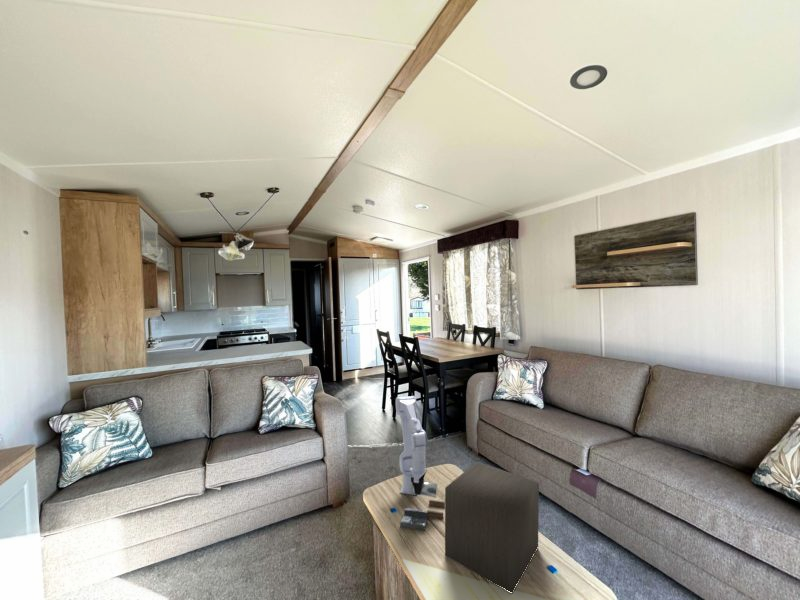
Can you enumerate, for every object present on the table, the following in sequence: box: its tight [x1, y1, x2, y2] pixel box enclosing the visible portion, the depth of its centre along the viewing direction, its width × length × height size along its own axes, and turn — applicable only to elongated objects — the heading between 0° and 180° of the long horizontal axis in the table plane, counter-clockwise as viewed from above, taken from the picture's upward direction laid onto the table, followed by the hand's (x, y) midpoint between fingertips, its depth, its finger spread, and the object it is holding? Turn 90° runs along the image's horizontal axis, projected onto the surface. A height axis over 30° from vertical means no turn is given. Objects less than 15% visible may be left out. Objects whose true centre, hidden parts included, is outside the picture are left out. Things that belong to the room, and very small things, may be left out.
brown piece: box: [426, 499, 445, 519], centre depth 148 cm, size 8×7×2 cm
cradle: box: [399, 507, 429, 532], centre depth 141 cm, size 9×10×2 cm
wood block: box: [444, 461, 540, 593], centre depth 125 cm, size 25×25×25 cm
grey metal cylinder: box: [410, 481, 438, 498], centre depth 149 cm, size 11×5×5 cm, turn 78°
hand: (418, 490), depth 149 cm, fingers closed on grey metal cylinder, 5 cm apart
